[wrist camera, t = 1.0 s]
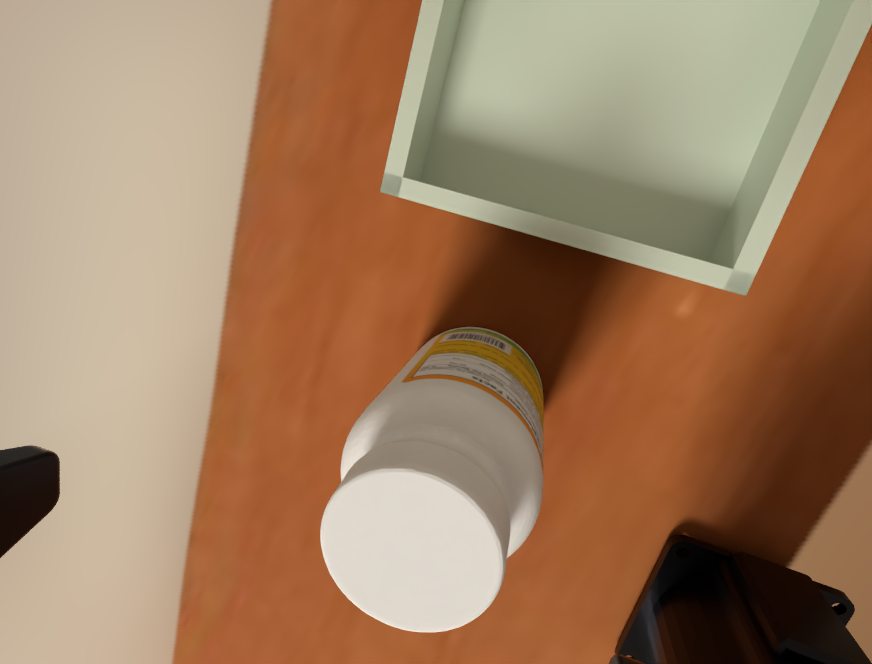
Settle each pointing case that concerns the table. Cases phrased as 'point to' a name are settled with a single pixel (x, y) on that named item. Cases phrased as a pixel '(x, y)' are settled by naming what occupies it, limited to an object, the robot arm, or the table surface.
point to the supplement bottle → (439, 483)
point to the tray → (624, 121)
